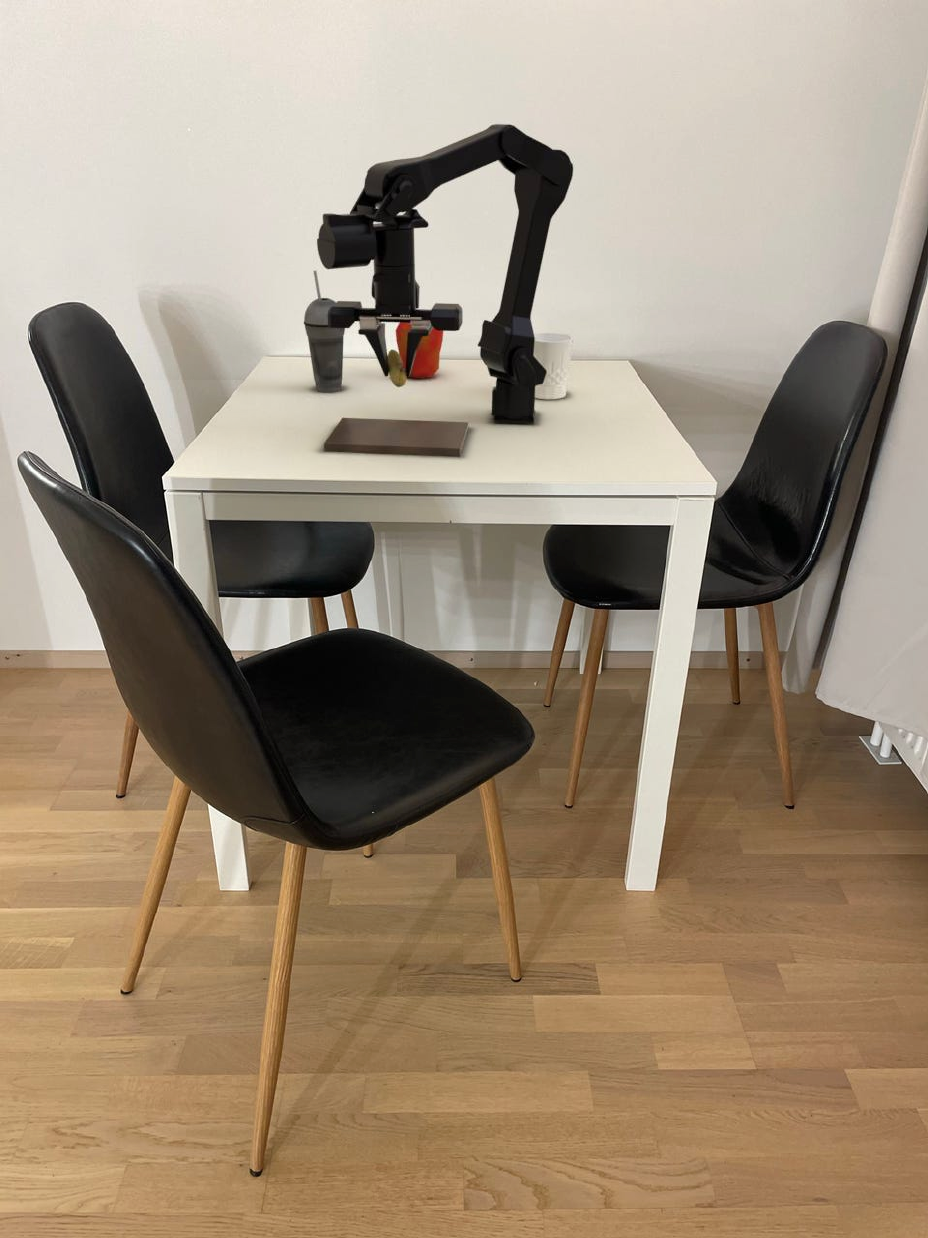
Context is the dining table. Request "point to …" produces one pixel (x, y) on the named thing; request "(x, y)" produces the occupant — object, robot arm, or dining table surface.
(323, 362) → the beverage cup
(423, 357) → the apple
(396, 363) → the banana
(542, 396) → the white cup
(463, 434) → the walnut board
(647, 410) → the dining table surface
